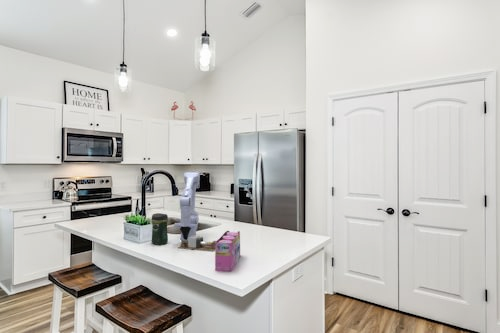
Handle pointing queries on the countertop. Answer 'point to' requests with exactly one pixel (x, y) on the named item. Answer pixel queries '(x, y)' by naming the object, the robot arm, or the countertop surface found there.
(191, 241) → the sleeve
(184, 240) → the pipe
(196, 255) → the countertop surface
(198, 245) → the nut
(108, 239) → the countertop surface
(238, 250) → the gum box
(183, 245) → the pipe stand
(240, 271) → the countertop surface
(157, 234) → the coffee jar
